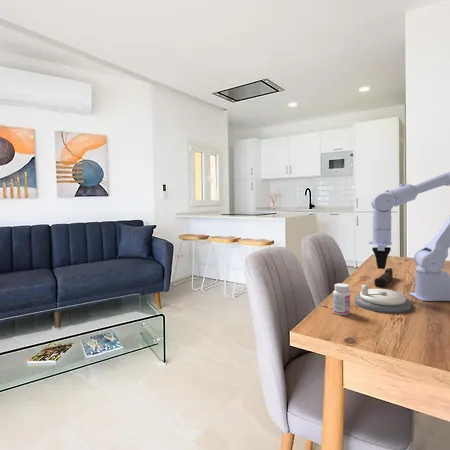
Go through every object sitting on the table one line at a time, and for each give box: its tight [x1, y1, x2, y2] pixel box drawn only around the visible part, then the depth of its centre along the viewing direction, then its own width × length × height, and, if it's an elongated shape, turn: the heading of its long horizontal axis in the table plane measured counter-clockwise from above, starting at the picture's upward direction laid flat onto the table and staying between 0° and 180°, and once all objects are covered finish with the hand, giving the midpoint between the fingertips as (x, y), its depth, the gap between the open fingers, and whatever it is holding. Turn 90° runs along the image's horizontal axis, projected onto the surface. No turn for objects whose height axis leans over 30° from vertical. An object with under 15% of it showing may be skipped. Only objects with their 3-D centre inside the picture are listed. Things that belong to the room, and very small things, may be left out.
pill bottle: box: [332, 282, 351, 316], centre depth 95 cm, size 5×5×8 cm
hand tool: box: [374, 267, 394, 289], centre depth 127 cm, size 19×4×5 cm, turn 139°
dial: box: [359, 284, 407, 306], centre depth 102 cm, size 13×13×4 cm
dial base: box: [354, 293, 412, 314], centre depth 102 cm, size 16×16×2 cm
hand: (381, 268), depth 111 cm, fingers closed
